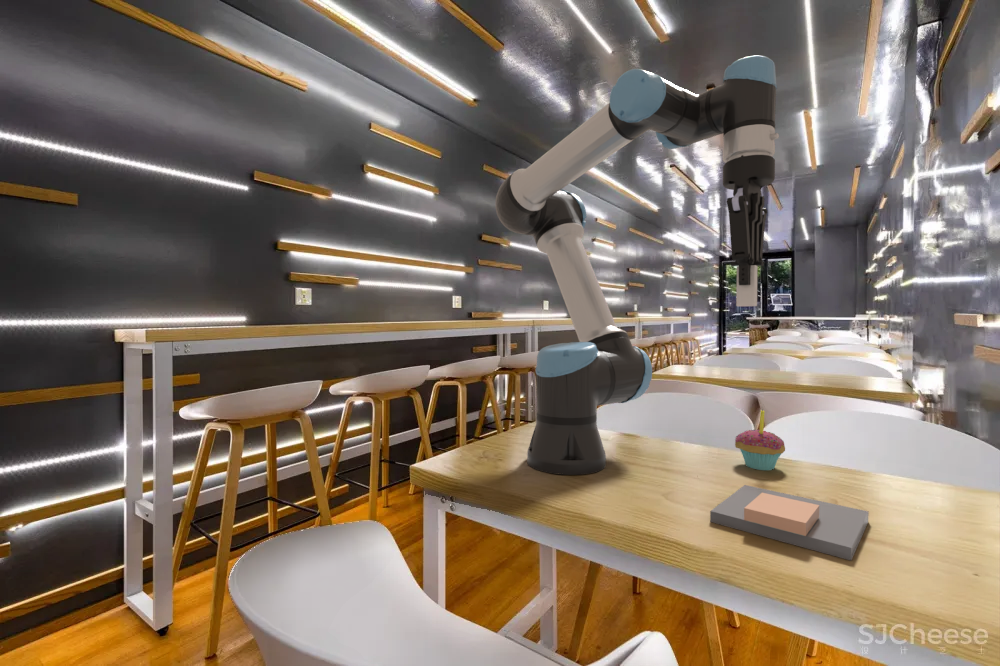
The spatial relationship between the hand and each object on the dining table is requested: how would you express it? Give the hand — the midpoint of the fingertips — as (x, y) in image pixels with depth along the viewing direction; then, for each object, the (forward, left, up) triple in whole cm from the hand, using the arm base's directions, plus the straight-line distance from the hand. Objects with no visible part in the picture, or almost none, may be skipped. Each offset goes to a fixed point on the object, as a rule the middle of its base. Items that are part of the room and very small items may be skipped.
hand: (746, 306), depth 79 cm
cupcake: (-2, +16, -31) cm, 35 cm away
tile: (+9, -9, -28) cm, 31 cm away
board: (+9, -9, -30) cm, 33 cm away
